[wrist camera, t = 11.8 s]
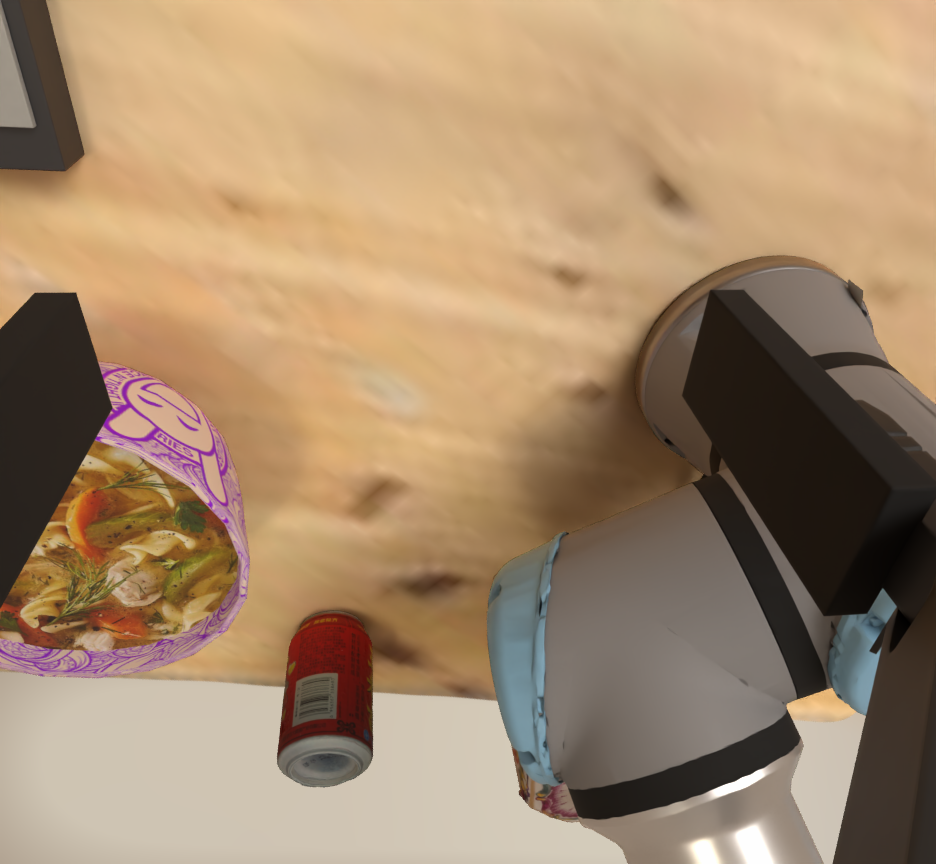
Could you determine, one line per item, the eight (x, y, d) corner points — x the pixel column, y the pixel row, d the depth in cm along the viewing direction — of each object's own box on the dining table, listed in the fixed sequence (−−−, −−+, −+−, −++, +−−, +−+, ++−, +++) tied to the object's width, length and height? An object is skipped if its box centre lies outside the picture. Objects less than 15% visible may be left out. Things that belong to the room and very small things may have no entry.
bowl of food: (257, 299, 40) (225, 414, 31) (284, 537, 52) (266, 670, 43) (-120, 290, 38) (-275, 414, 28) (0, 544, 50) (-83, 688, 40)
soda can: (274, 622, 58) (256, 765, 49) (349, 595, 57) (345, 735, 48) (315, 664, 63) (306, 802, 53) (385, 639, 62) (389, 776, 52)
